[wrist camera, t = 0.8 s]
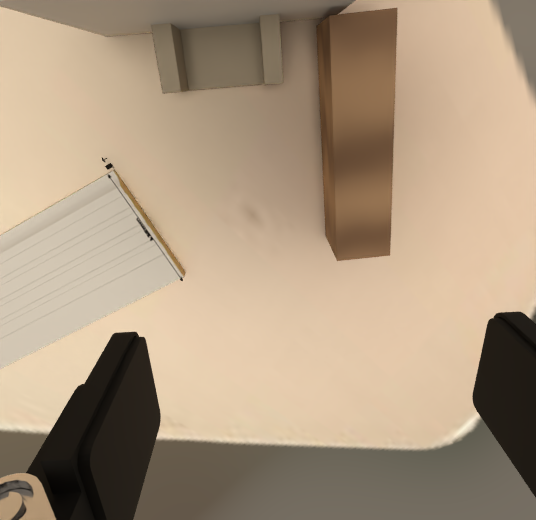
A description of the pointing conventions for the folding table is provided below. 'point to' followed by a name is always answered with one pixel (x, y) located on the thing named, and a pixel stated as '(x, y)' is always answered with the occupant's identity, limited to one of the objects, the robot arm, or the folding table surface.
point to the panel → (194, 34)
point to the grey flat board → (77, 266)
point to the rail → (357, 129)
